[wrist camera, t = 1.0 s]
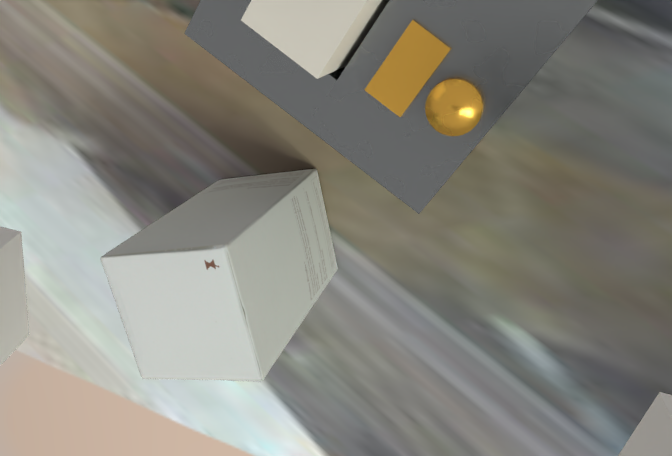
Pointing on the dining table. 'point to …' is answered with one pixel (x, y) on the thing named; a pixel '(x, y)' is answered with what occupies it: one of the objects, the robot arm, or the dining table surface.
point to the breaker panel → (403, 80)
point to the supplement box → (224, 277)
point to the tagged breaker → (314, 29)
